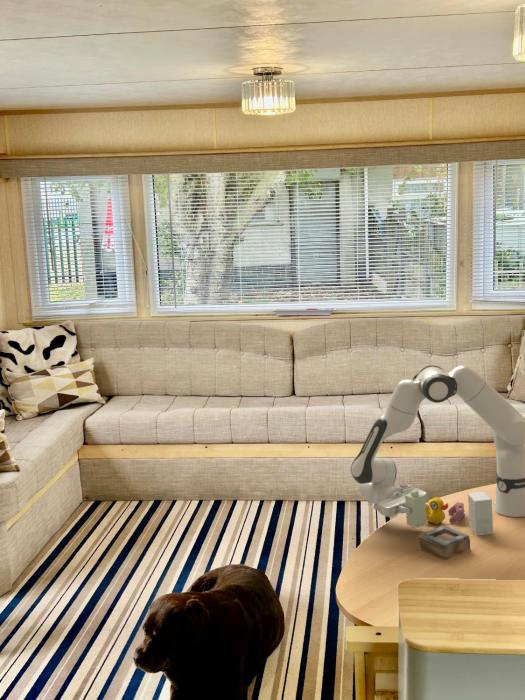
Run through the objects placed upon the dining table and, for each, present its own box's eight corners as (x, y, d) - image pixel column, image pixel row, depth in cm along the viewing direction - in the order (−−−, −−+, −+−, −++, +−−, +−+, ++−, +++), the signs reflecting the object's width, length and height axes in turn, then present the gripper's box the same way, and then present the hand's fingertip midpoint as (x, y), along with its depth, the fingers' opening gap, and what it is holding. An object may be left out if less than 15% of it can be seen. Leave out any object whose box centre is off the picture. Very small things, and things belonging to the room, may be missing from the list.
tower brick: (417, 519, 279) (415, 487, 277) (427, 523, 275) (424, 491, 273) (407, 523, 277) (404, 491, 274) (416, 528, 273) (414, 495, 270)
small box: (493, 533, 273) (492, 499, 270) (476, 535, 273) (474, 501, 270) (486, 524, 281) (484, 491, 278) (469, 526, 280) (467, 493, 278)
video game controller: (459, 527, 284) (467, 511, 282) (448, 522, 284) (456, 506, 283) (458, 516, 293) (466, 501, 292) (447, 512, 294) (454, 496, 292)
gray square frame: (445, 538, 273) (444, 524, 272) (470, 549, 263) (469, 535, 262) (420, 548, 267) (419, 534, 266) (444, 560, 257) (444, 545, 256)
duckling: (453, 523, 284) (451, 498, 282) (445, 528, 281) (443, 503, 279) (427, 516, 292) (426, 492, 291) (419, 521, 289) (417, 496, 287)
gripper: (369, 498, 280) (394, 508, 268) (411, 483, 290) (437, 492, 278) (371, 514, 281) (396, 525, 269) (412, 498, 291) (438, 508, 280)
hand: (417, 508), depth 274 cm, fingers closed on tower brick, 5 cm apart
